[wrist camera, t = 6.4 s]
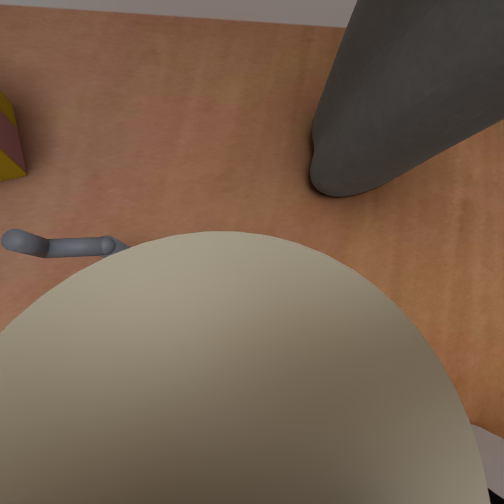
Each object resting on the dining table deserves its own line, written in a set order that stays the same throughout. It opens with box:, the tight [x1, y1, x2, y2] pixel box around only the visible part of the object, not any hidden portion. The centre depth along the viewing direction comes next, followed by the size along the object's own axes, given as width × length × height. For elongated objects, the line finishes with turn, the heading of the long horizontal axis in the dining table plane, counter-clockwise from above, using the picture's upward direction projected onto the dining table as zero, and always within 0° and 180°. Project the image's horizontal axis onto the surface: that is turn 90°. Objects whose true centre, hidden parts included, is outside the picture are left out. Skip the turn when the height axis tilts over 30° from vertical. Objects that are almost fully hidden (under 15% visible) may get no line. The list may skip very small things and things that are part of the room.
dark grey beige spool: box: [0, 231, 491, 504], centre depth 9 cm, size 7×7×13 cm
